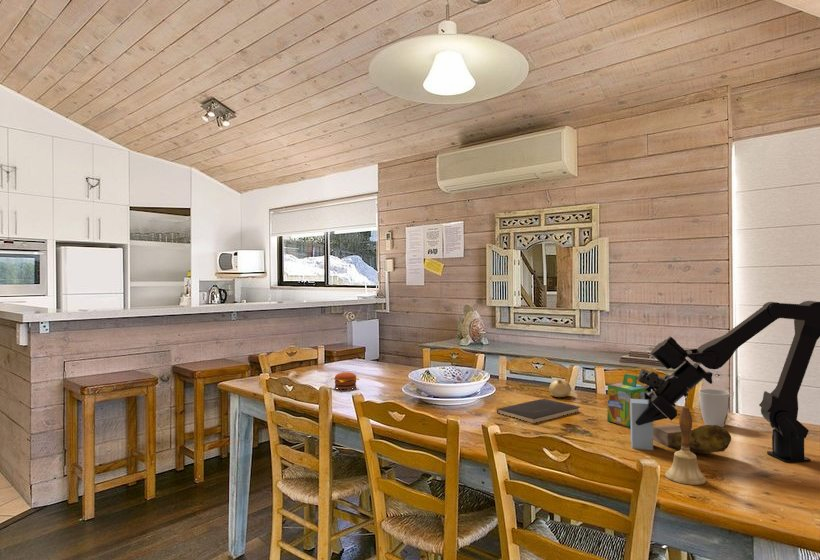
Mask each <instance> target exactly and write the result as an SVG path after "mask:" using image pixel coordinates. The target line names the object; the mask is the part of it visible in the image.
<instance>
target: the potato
mask: <svg viewBox="0 0 820 560" xmlns="http://www.w3.org/2000/svg"><path fill="white" fill-rule="evenodd" d="M689 439H690V447H689V448H690V452H692V453H694V454H701V455H702V454H703V455H704V454H711V453H717V452H718V453H720V452H721V453H722V452H725V450H727V449H728V447H729V445H730V443H731V441H732V436H731V434H730V432H728V431H727V430H726V429H725V428H724V427H720V426H717V425H705V424H704V425H700V426H699V427H696V428H694V429H691V432H690V436H689ZM681 443H682V433H681V432H679V433H676V434H675V435H674V436H673V438H672V444H673V445H674V446H675V448H676V449H677V450H679V451H680V450H681Z"/></svg>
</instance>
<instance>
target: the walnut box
mask: <svg viewBox="0 0 820 560" xmlns="http://www.w3.org/2000/svg"><path fill="white" fill-rule="evenodd" d="M679 432H681V429H680V425H678V424H675V423H673V424H671V423H670V424H658V425H657V424H656V425H655V424H654V425H653V442H656V443H659V444H660V445H663V446H664V447H666V448H674V447H675V446H674V445H673V444H672V438H673V436H674V435H675V434H676V433H679ZM675 448H676V447H675Z"/></svg>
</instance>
